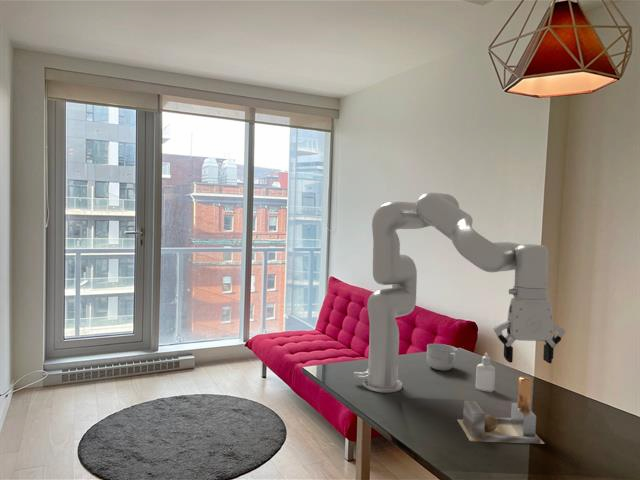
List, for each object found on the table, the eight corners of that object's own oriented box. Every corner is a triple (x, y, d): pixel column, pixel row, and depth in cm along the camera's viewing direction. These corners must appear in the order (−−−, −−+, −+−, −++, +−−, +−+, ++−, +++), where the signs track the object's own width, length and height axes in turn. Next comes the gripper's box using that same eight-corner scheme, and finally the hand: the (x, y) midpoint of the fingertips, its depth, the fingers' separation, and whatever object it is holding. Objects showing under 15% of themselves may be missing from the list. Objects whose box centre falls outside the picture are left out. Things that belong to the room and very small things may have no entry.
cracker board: (469, 446, 117) (471, 416, 116) (456, 424, 129) (458, 397, 128) (544, 449, 116) (546, 419, 116) (524, 427, 128) (525, 399, 128)
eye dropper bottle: (486, 393, 152) (488, 356, 151) (473, 387, 157) (474, 351, 156) (496, 391, 154) (498, 354, 153) (482, 385, 159) (484, 350, 158)
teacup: (421, 363, 180) (422, 342, 180) (448, 362, 182) (449, 342, 182) (437, 376, 167) (438, 353, 166) (466, 375, 169) (467, 353, 168)
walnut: (483, 433, 121) (484, 418, 120) (478, 426, 125) (479, 411, 124) (499, 434, 121) (500, 418, 120) (494, 427, 125) (494, 412, 124)
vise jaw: (522, 437, 118) (525, 383, 118) (510, 423, 126) (513, 372, 126) (535, 438, 118) (538, 384, 118) (522, 423, 126) (524, 373, 126)
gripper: (500, 295, 117) (498, 365, 117) (572, 297, 116) (570, 366, 117) (490, 291, 124) (488, 356, 125) (558, 292, 124) (555, 357, 125)
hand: (528, 361), depth 121 cm, fingers open, 9 cm apart
